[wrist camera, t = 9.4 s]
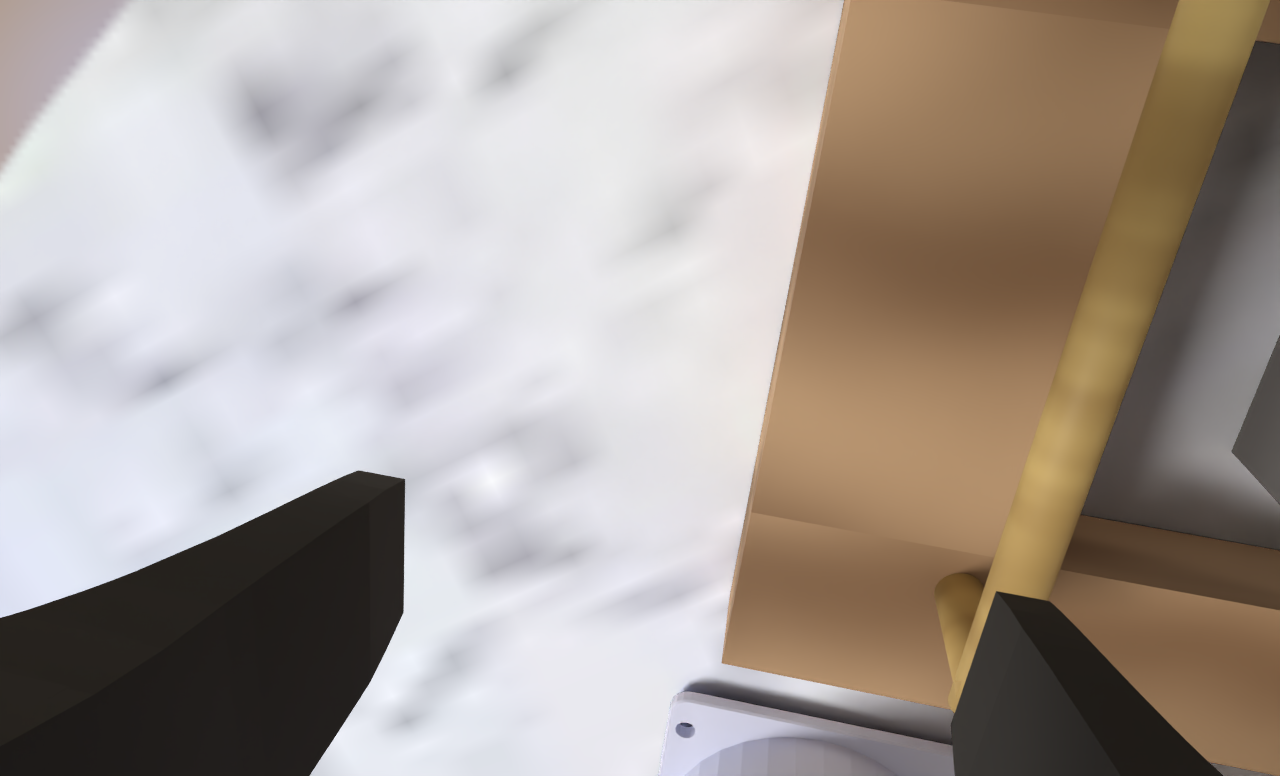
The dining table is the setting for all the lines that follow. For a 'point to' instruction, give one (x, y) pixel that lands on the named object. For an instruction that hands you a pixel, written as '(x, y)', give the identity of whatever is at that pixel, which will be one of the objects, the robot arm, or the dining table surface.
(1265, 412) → the grey rectangular block
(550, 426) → the dining table surface
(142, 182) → the dining table surface
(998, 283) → the tan wooden frame
